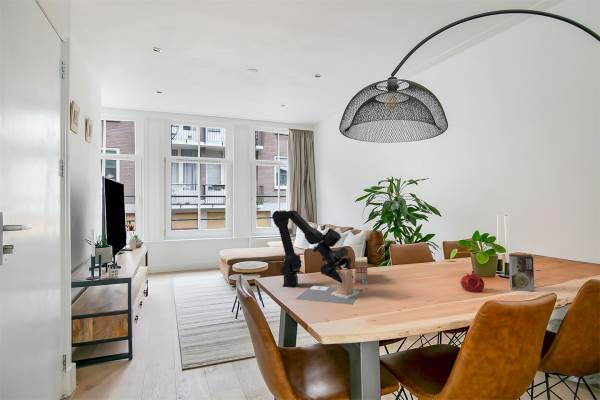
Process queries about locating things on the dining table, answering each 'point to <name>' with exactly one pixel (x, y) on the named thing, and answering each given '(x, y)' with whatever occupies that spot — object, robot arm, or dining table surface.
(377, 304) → the dining table surface
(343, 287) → the column block
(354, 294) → the board
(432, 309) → the dining table surface
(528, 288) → the coffee box
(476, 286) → the pomegranate
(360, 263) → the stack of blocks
